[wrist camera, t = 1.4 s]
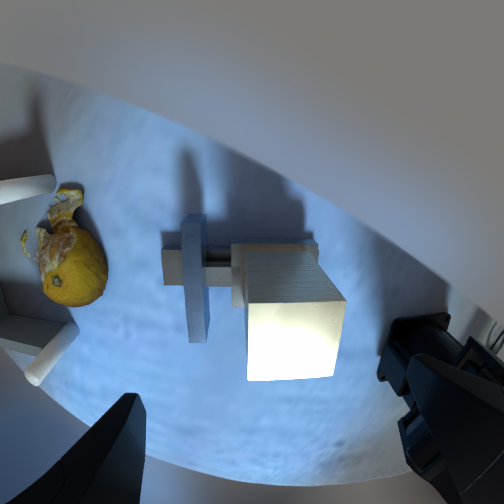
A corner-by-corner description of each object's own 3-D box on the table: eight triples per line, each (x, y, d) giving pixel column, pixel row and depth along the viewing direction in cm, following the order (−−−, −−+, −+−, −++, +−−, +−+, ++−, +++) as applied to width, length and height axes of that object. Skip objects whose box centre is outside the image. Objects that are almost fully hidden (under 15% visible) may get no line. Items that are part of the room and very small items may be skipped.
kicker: (314, 215, 17) (371, 254, 10) (306, 318, 19) (341, 401, 12) (189, 214, 17) (150, 253, 9) (195, 318, 19) (173, 406, 11)
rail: (315, 246, 19) (318, 250, 18) (312, 279, 20) (315, 285, 19) (164, 245, 19) (161, 249, 18) (167, 279, 20) (164, 285, 19)
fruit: (71, 172, 17) (42, 175, 14) (139, 260, 19) (120, 279, 16) (19, 242, 19) (-7, 255, 15) (77, 318, 21) (57, 341, 17)
